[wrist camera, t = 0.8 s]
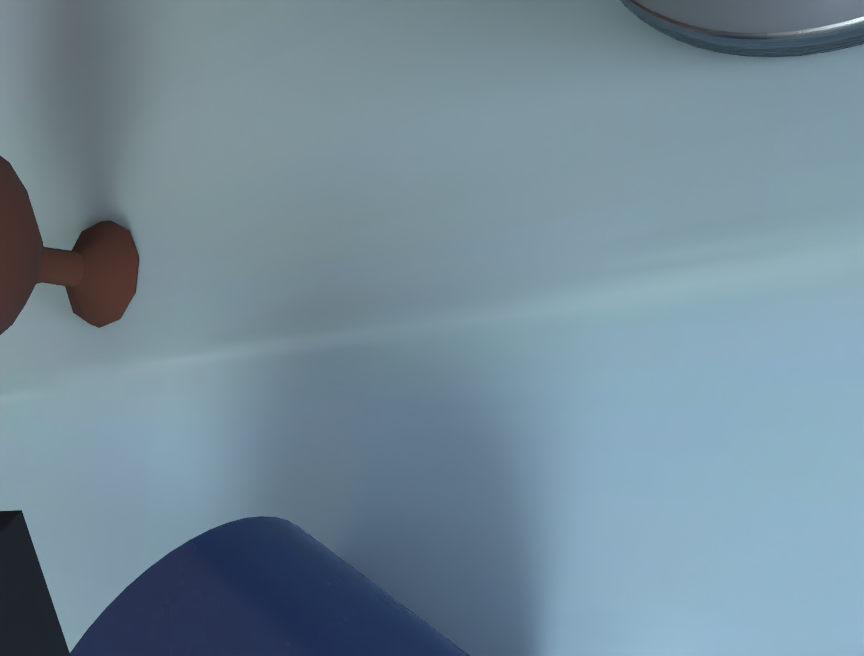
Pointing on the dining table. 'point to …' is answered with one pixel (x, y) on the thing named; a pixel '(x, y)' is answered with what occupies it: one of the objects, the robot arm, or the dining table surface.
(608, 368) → the dining table surface
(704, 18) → the robot arm
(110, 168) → the dining table surface
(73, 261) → the ice cream bowl
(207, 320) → the dining table surface
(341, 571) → the pot
